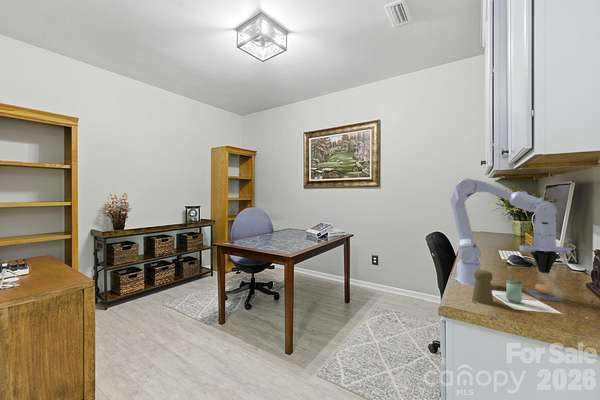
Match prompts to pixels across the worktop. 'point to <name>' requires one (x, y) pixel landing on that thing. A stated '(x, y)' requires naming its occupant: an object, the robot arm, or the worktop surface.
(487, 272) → the olive brown cylinder
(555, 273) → the worktop surface
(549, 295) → the button pad
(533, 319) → the worktop surface
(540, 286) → the button
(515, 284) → the green cylinder
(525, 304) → the picture card
